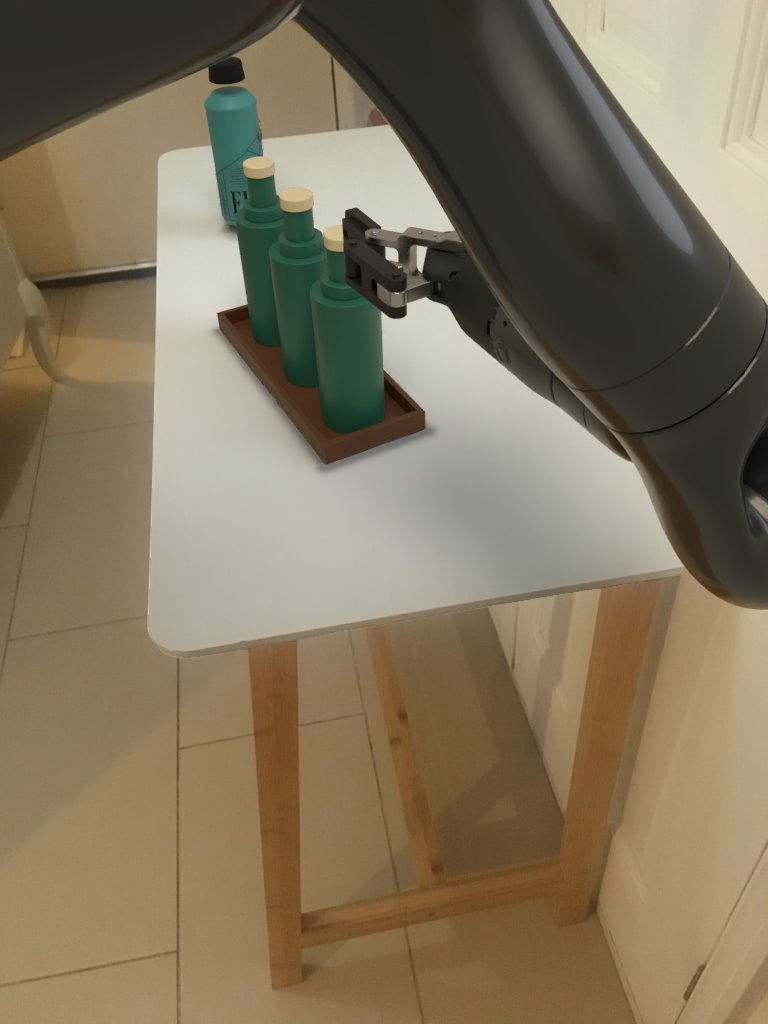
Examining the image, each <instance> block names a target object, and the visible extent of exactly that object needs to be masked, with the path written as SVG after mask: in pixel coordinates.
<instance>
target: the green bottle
mask: <svg viewBox="0 0 768 1024" xmlns="http://www.w3.org/2000/svg"><path fill="white" fill-rule="evenodd" d="M322 234H323V237H324V246H325V247H326V250H327V263H328V269H327V270H325V271H324V272H323V273H322V274H321V277H320V279H319V280H318V281H316V282H315V283H314V284H313V285H312V287H311V289H310V298H311V308H312V319H313V329H314V340H315V350H316V360H317V371H318V381H319V391H320V402H321V412H322V420H323V422H324V424H325V425H326V426H327V427H328V428H330V429H331V430H333V431H335V432H338V433H343V434H350V433H353V432H356V431H359V430H361V429H364V428H367V427H370V426H373V425H376V424H379V423H381V422H382V421H383V420H384V417H385V399H384V371H383V369H384V346H383V344H384V343H383V321H382V320H383V319H382V318H383V317H382V316H383V315H382V312H381V311H380V310H379V309H378V308H376V307H375V306H374V305H373V304H371V303H370V302H369V301H368V300H367V299H365V298H364V297H363V296H362V295H360V294H359V293H358V292H357V291H355V290H354V289H353V288H352V287H350V286H349V285H348V284H347V283H346V282H345V256H344V251H343V243H344V241H343V228H342V224H335V225H331V226H329V227H327V228H326V229H325V230H324V231H323V232H322Z"/></svg>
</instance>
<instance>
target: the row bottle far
mask: <svg viewBox="0 0 768 1024" xmlns="http://www.w3.org/2000/svg"><path fill="white" fill-rule="evenodd" d="M243 169H244V175H245V176H246V179H247V186H248V193H249V198H247V199H246V200H245V201H244V202H243V208H242V209H240V210H239V211H238V212H237V213H236V214H235V217H234V218H235V225H236V226H235V230H236V237H237V244H238V250H239V259H240V264H241V271H242V278H243V284H244V289H245V290H244V291H245V296H246V304H248V310H249V317H250V324H251V330H252V336H253V338H254V340H255V341H256V342H258V343H260V344H262V345H265V346H270V347H281V344H280V336H279V328H278V320H277V312H276V305H275V297H274V289H273V281H272V273H271V265H270V258H269V249H270V247H271V246H272V245H273V244H274V243H275V242H277V241H278V236H279V234H280V233H281V232H283V231H284V230H285V227H284V218H283V209H282V208H281V206H280V198H279V195H277V188H276V180H275V179H276V177H275V173H276V165H275V160H274V159H273V158H271V157H269V156H263V157H253V158H249V159H247V160H245V161H244V162H243Z"/></svg>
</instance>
